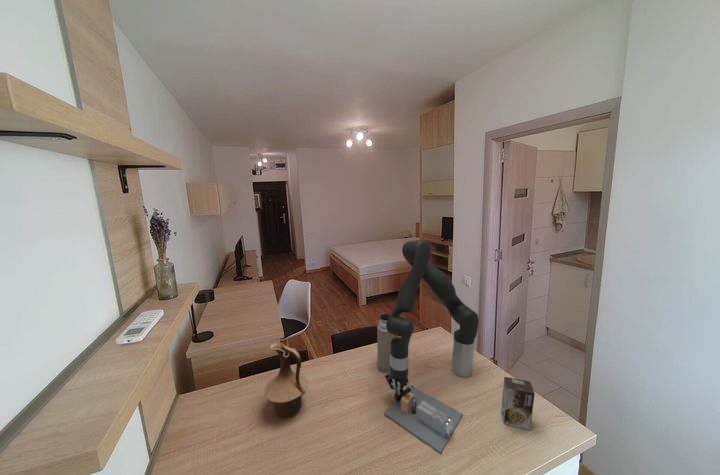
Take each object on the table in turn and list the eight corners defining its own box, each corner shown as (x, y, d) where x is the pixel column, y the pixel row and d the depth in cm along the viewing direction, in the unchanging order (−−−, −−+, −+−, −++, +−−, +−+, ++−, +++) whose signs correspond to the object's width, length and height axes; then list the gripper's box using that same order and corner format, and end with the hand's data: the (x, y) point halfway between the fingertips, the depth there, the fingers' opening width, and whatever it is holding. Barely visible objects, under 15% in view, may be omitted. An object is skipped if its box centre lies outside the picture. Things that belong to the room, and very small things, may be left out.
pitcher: (317, 399, 114) (314, 340, 108) (292, 432, 99) (287, 366, 93) (285, 386, 121) (281, 331, 115) (257, 416, 106) (250, 354, 100)
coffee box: (526, 416, 104) (530, 381, 101) (530, 431, 98) (535, 393, 95) (500, 410, 107) (504, 375, 104) (503, 424, 101) (507, 387, 98)
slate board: (409, 386, 120) (409, 384, 120) (462, 415, 105) (462, 414, 105) (383, 414, 106) (383, 412, 106) (440, 454, 90) (440, 452, 90)
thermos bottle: (393, 362, 136) (394, 312, 130) (392, 373, 128) (393, 320, 123) (378, 361, 138) (378, 311, 132) (376, 371, 130) (376, 319, 124)
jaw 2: (416, 419, 102) (417, 407, 101) (419, 416, 104) (419, 404, 103) (448, 439, 94) (448, 426, 93) (450, 435, 96) (451, 422, 95)
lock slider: (400, 410, 107) (401, 398, 106) (407, 402, 110) (407, 391, 109) (407, 414, 105) (407, 402, 104) (414, 406, 108) (414, 394, 107)
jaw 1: (419, 415, 104) (420, 403, 103) (422, 412, 106) (422, 400, 104) (450, 435, 96) (451, 422, 95) (452, 431, 97) (453, 418, 96)
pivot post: (410, 412, 106) (411, 399, 104) (413, 409, 107) (413, 396, 106) (414, 415, 104) (415, 401, 103) (417, 412, 106) (417, 399, 104)
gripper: (380, 361, 108) (380, 397, 112) (408, 376, 100) (407, 414, 103) (391, 352, 114) (390, 387, 117) (418, 366, 105) (417, 403, 109)
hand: (398, 400), depth 110 cm, fingers closed
